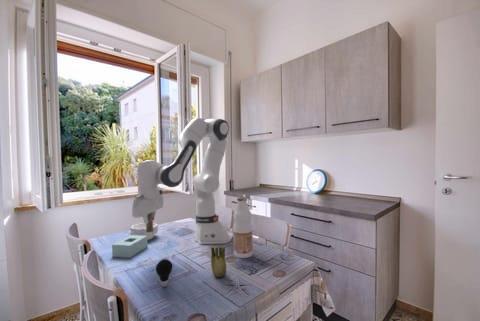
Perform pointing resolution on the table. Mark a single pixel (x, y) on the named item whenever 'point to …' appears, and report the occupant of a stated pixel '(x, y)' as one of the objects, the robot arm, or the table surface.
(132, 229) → the paper bowls
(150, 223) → the walnut peg
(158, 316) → the table surface
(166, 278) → the light bulb
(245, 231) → the fruit juice
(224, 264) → the fennel bulb
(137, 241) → the hole block
